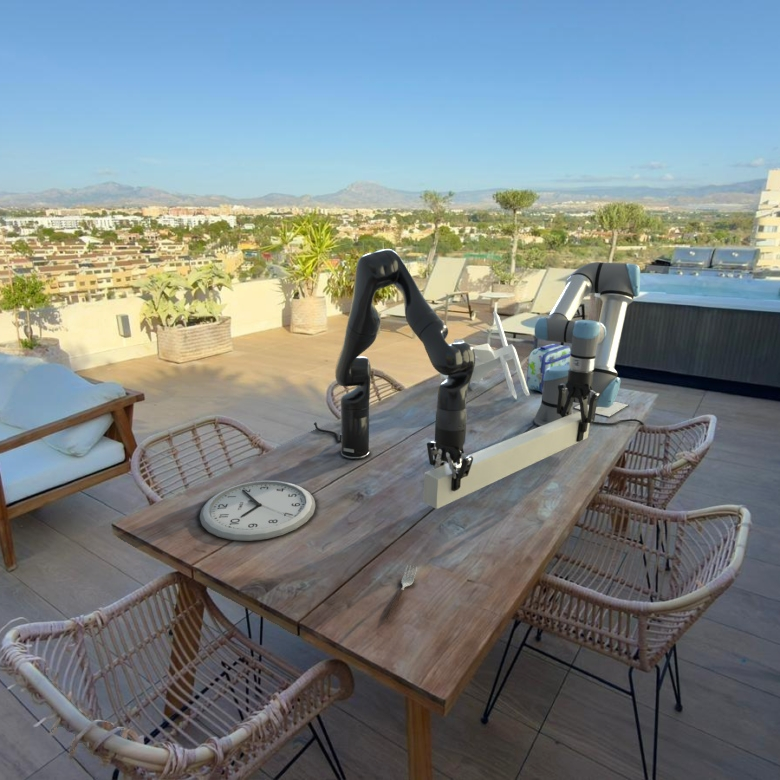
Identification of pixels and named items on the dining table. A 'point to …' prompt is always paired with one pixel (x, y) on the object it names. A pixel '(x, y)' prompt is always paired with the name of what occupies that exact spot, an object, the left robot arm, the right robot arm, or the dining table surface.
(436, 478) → the post
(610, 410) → the invitation card
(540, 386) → the lunch box
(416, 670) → the dining table surface
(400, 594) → the fork
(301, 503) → the wall clock
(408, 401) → the dining table surface
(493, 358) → the white plastic object
